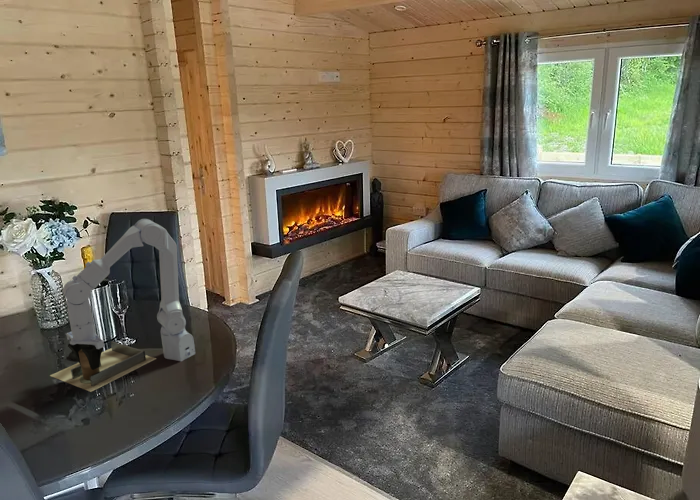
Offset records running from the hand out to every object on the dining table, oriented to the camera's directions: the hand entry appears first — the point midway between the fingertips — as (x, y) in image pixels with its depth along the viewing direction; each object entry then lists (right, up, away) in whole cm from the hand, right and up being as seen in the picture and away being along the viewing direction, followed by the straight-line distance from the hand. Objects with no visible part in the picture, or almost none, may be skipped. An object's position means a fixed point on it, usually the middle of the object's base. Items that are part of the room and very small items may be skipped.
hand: (90, 366), depth 149 cm
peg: (0, -3, +1) cm, 3 cm away
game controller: (-10, -1, +17) cm, 20 cm away
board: (+1, -3, +8) cm, 8 cm away
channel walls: (+1, -2, +7) cm, 8 cm away
